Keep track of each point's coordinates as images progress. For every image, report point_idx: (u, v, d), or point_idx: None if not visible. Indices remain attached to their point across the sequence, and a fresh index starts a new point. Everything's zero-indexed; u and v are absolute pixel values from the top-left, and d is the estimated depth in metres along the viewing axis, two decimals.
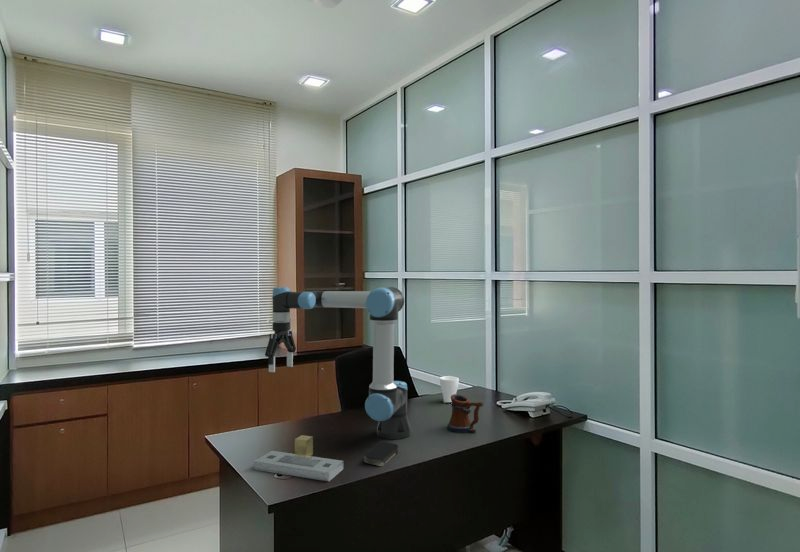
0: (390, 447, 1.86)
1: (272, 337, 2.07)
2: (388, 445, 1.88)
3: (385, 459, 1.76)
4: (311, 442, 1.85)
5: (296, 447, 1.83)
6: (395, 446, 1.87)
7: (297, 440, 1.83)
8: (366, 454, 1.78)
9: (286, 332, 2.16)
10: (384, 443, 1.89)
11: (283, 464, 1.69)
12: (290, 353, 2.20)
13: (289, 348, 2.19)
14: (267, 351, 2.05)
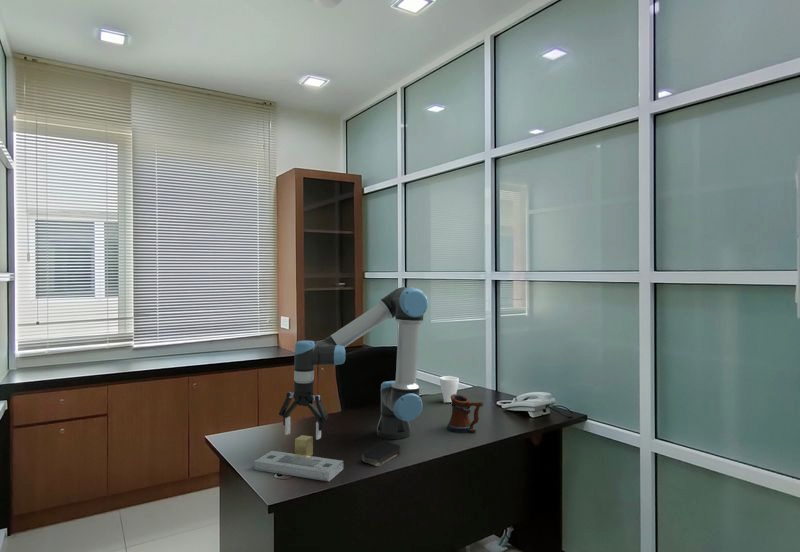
0: (391, 448, 1.85)
1: None
2: (390, 445, 1.87)
3: (382, 459, 1.76)
4: (311, 442, 1.85)
5: (296, 447, 1.83)
6: (397, 447, 1.86)
7: (297, 440, 1.83)
8: (364, 453, 1.79)
9: (307, 395, 1.83)
10: (387, 443, 1.89)
11: (283, 464, 1.69)
12: None
13: None
14: None
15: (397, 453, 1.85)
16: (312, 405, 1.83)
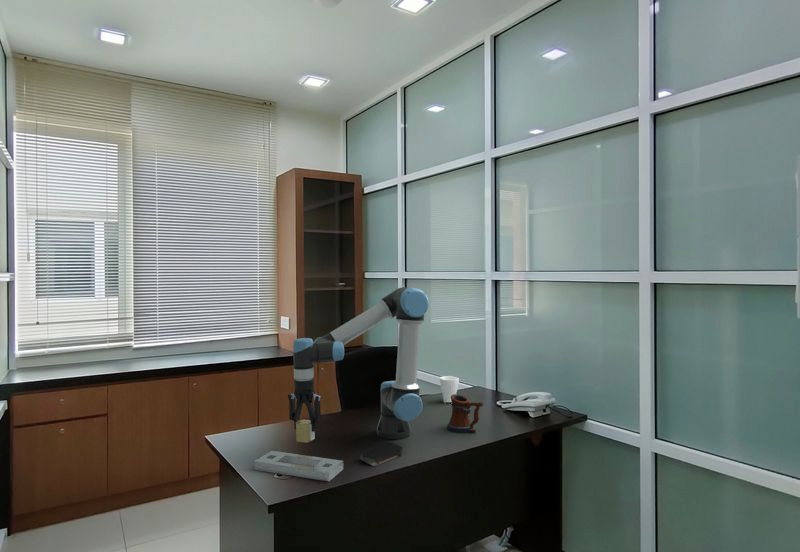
0: (392, 449, 1.84)
1: None
2: (392, 446, 1.86)
3: (379, 459, 1.76)
4: None
5: (298, 431, 1.83)
6: (399, 448, 1.85)
7: (298, 424, 1.83)
8: (363, 452, 1.80)
9: (309, 392, 1.83)
10: (390, 444, 1.88)
11: (283, 464, 1.69)
12: None
13: None
14: None
15: (398, 454, 1.83)
16: (310, 404, 1.84)
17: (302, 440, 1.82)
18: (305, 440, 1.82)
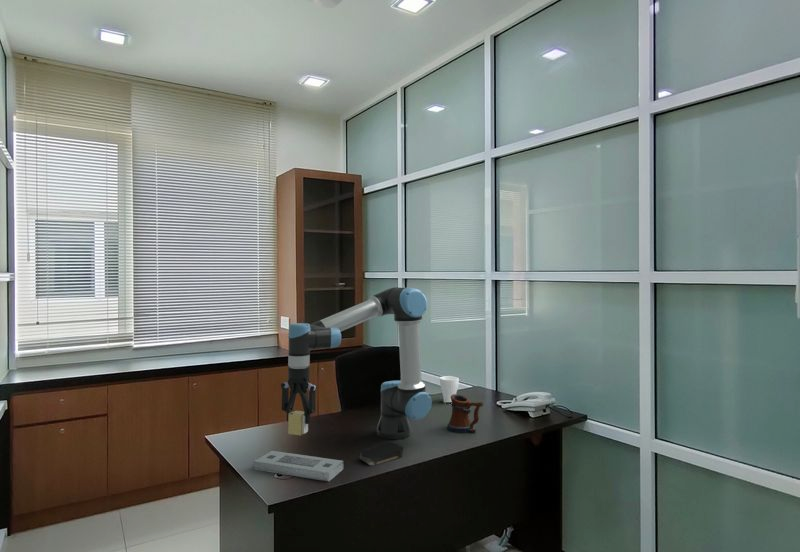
0: (393, 449, 1.83)
1: None
2: (393, 447, 1.86)
3: (376, 459, 1.76)
4: None
5: (290, 422, 1.70)
6: (399, 449, 1.84)
7: (291, 415, 1.70)
8: (362, 451, 1.81)
9: (304, 381, 1.70)
10: (392, 444, 1.88)
11: (283, 464, 1.69)
12: None
13: None
14: None
15: (398, 455, 1.82)
16: (304, 395, 1.70)
17: (294, 432, 1.69)
18: (297, 433, 1.69)
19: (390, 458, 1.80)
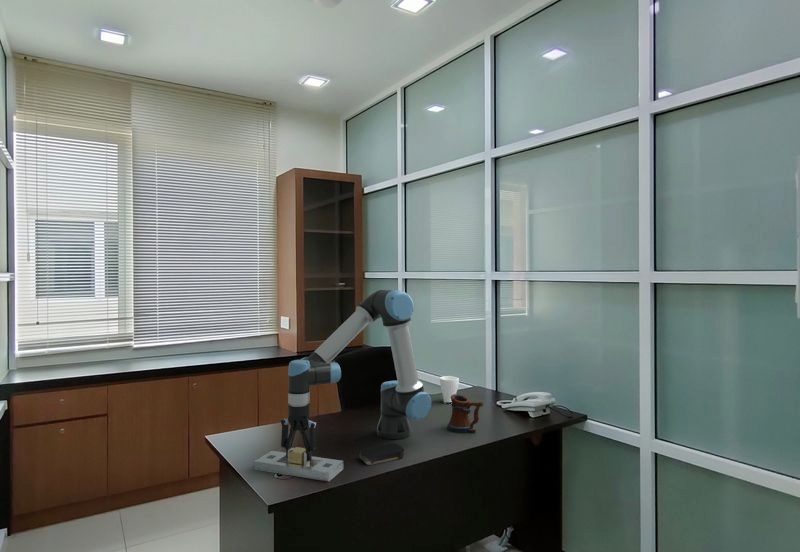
0: (393, 450, 1.83)
1: None
2: (395, 448, 1.85)
3: (374, 459, 1.76)
4: None
5: (290, 460, 1.70)
6: (399, 450, 1.83)
7: (291, 453, 1.70)
8: (362, 450, 1.82)
9: (304, 419, 1.70)
10: (394, 445, 1.87)
11: (283, 464, 1.69)
12: None
13: None
14: None
15: (398, 456, 1.81)
16: (305, 432, 1.70)
17: None
18: None
19: (389, 459, 1.80)
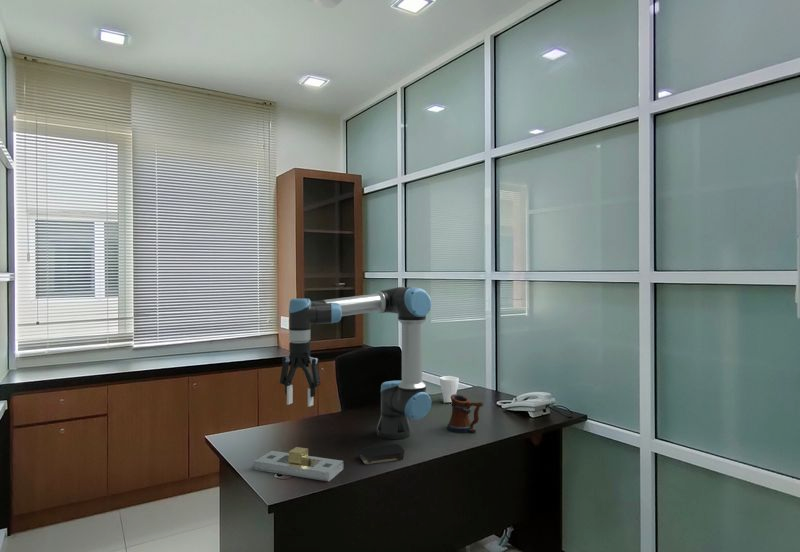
0: (393, 451, 1.82)
1: None
2: (396, 449, 1.84)
3: (371, 458, 1.77)
4: (306, 455, 1.72)
5: (290, 460, 1.70)
6: (399, 452, 1.81)
7: (291, 453, 1.70)
8: (362, 449, 1.83)
9: (305, 356, 1.71)
10: (396, 446, 1.86)
11: (283, 464, 1.69)
12: None
13: None
14: None
15: (397, 458, 1.80)
16: (307, 368, 1.71)
17: None
18: None
19: (387, 459, 1.79)
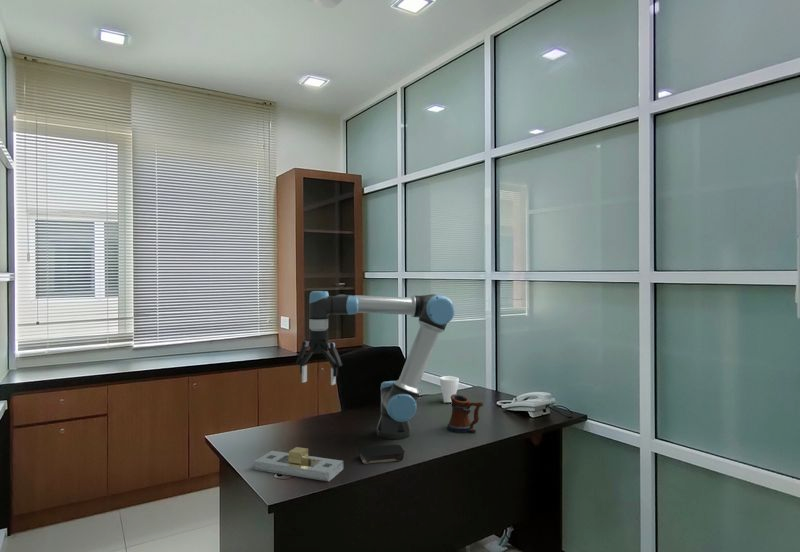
0: (393, 451, 1.81)
1: None
2: (396, 449, 1.83)
3: (369, 458, 1.77)
4: (306, 455, 1.72)
5: (290, 460, 1.70)
6: (399, 452, 1.80)
7: (291, 453, 1.70)
8: (363, 448, 1.84)
9: (323, 342, 1.90)
10: (397, 447, 1.85)
11: (283, 464, 1.69)
12: None
13: None
14: None
15: (396, 458, 1.79)
16: (327, 352, 1.90)
17: None
18: None
19: (386, 460, 1.79)
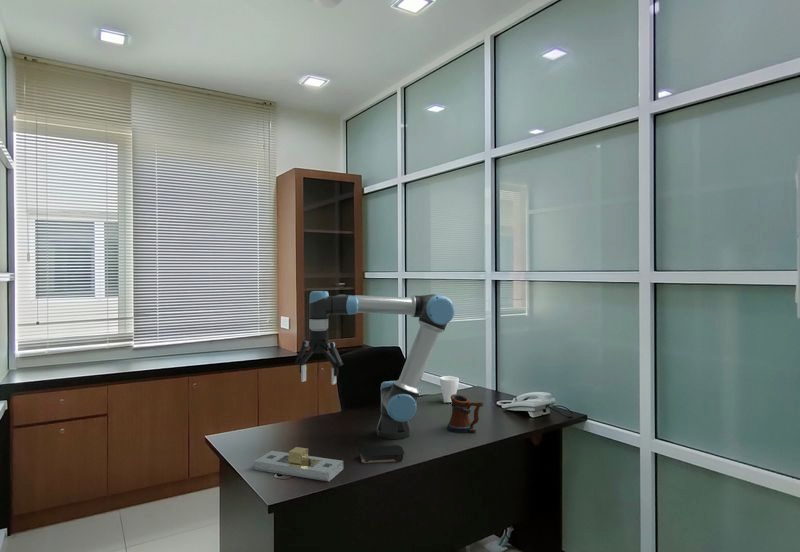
0: (392, 452, 1.81)
1: None
2: (396, 450, 1.83)
3: (368, 458, 1.78)
4: (306, 455, 1.72)
5: (290, 460, 1.70)
6: (398, 453, 1.80)
7: (291, 453, 1.70)
8: (363, 447, 1.84)
9: (323, 342, 1.90)
10: (398, 447, 1.85)
11: (283, 464, 1.69)
12: None
13: None
14: None
15: (395, 459, 1.79)
16: (327, 352, 1.90)
17: None
18: None
19: (385, 460, 1.78)
